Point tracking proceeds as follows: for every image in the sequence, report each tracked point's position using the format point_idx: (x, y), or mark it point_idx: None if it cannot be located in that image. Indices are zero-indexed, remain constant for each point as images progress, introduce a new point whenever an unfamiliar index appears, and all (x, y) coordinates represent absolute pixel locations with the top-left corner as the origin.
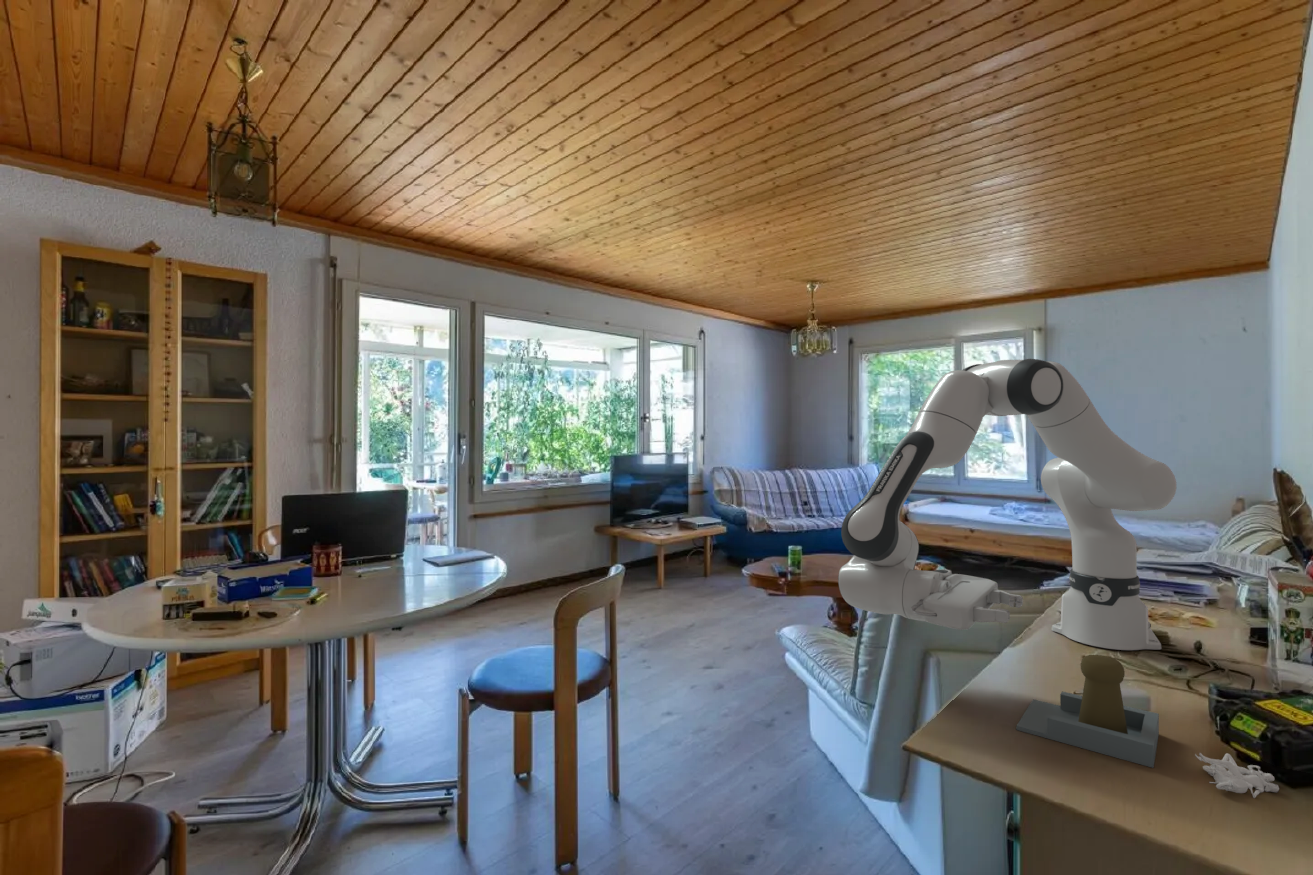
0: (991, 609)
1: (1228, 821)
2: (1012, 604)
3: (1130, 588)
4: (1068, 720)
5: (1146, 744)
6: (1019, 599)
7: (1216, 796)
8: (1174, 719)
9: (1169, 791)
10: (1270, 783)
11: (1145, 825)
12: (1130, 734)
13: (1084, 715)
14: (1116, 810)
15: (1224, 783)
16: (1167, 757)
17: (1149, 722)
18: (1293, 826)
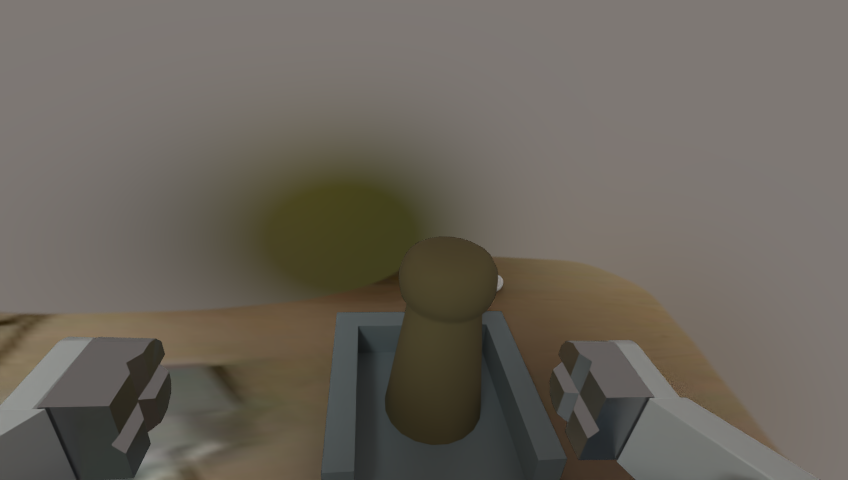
0: (694, 420)
1: (562, 290)
2: (142, 437)
3: None
4: (531, 419)
5: (504, 318)
6: (155, 349)
7: (509, 296)
8: (238, 333)
9: (551, 326)
10: None
11: (675, 338)
12: None
13: (474, 396)
14: (683, 363)
15: (501, 277)
16: None
17: (399, 319)
18: (509, 260)
